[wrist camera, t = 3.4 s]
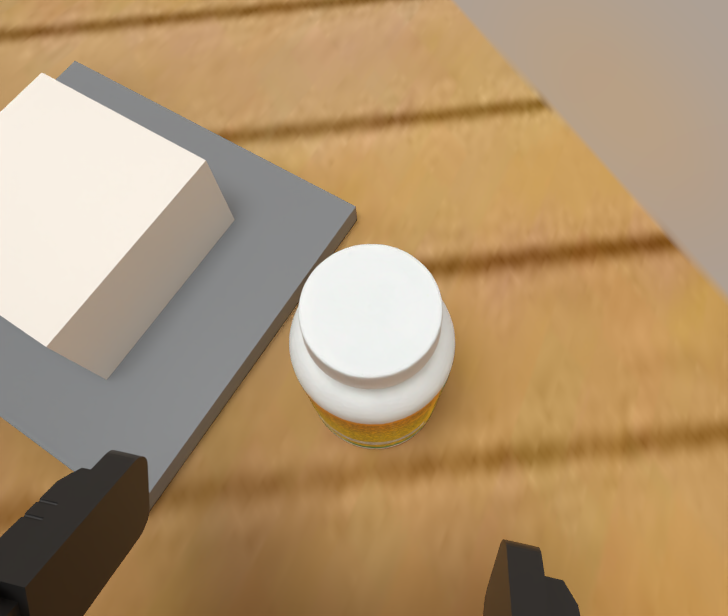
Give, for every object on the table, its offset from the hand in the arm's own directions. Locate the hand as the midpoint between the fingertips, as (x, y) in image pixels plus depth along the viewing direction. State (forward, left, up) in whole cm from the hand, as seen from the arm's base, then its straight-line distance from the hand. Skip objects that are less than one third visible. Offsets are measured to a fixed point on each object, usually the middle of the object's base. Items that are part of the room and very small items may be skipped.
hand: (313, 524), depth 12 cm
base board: (-16, -6, -11) cm, 20 cm away
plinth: (-16, -6, -9) cm, 19 cm away
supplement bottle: (-5, +3, -11) cm, 12 cm away
